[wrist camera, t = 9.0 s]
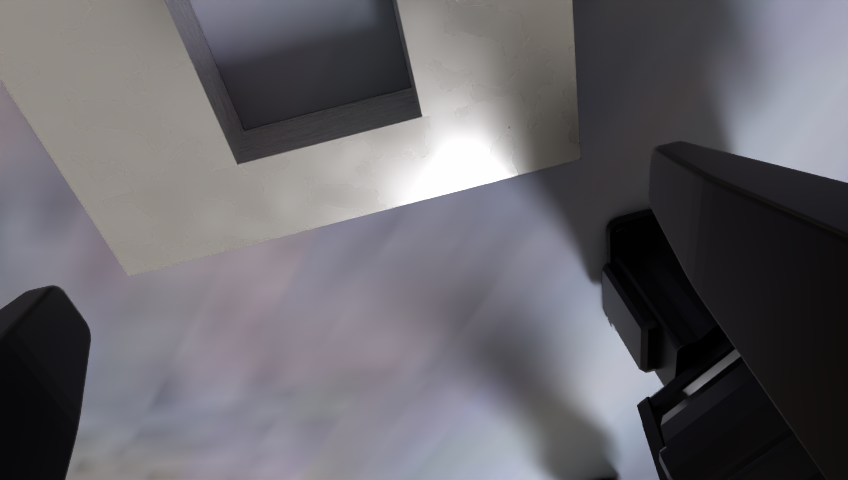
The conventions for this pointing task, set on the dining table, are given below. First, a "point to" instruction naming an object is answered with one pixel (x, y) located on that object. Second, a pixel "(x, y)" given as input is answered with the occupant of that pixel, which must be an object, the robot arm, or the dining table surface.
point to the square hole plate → (285, 140)
